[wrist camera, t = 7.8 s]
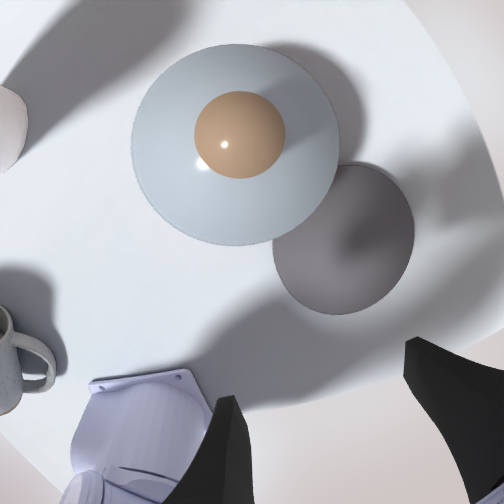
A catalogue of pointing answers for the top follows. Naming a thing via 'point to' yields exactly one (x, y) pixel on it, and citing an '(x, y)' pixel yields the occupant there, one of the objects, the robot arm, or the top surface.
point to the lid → (235, 145)
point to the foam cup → (11, 127)
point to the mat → (348, 244)
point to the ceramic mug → (8, 368)
